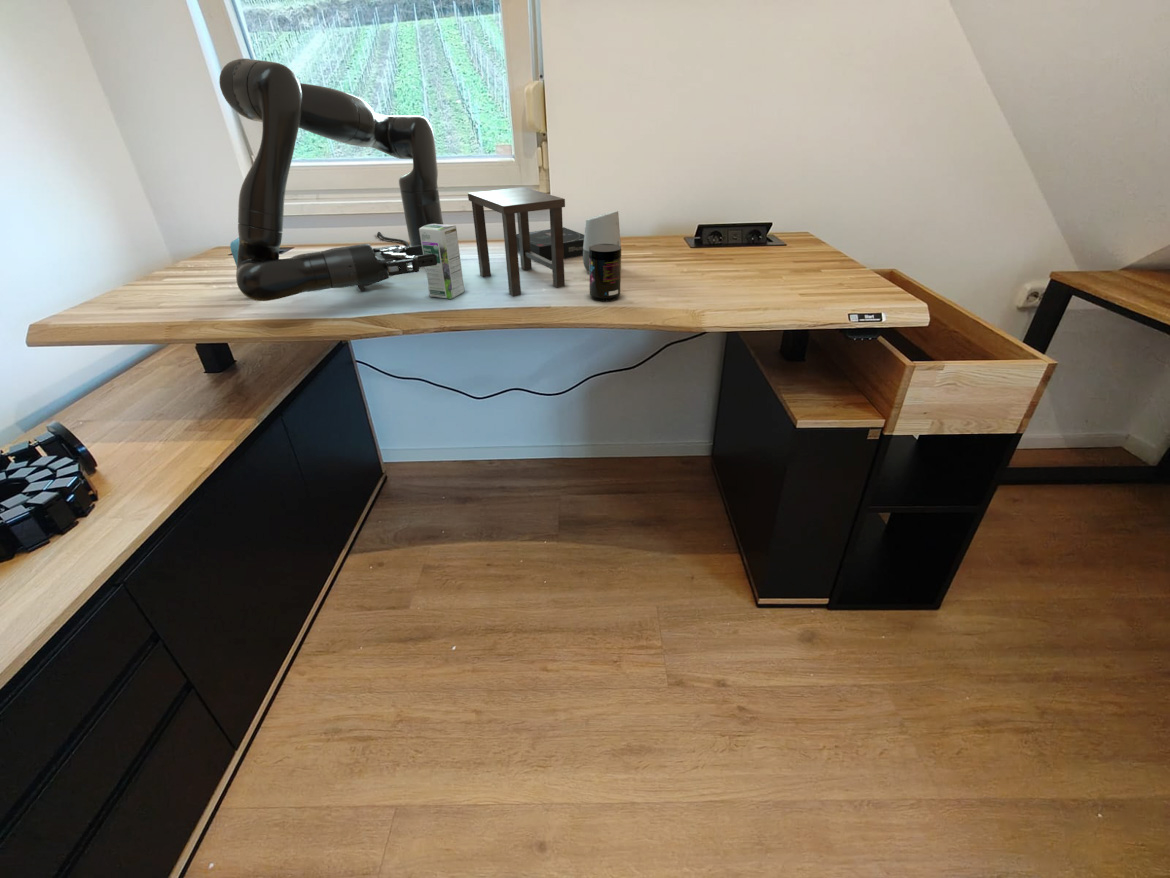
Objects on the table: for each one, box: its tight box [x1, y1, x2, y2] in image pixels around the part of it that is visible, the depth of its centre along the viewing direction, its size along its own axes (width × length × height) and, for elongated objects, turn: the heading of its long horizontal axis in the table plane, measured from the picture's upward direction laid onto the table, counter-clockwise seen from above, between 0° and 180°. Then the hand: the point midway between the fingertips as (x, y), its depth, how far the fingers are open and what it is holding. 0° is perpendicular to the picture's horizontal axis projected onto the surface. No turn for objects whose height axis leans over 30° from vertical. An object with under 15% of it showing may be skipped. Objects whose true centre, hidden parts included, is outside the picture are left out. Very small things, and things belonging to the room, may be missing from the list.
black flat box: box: [516, 226, 585, 261], centre depth 152 cm, size 16×17×4 cm
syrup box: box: [419, 224, 465, 300], centre depth 119 cm, size 6×6×14 cm
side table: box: [467, 186, 566, 297], centre depth 126 cm, size 20×14×19 cm
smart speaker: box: [582, 210, 622, 273], centre depth 133 cm, size 10×9×14 cm
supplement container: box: [588, 244, 622, 302], centre depth 117 cm, size 7×7×10 cm
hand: (429, 254), depth 117 cm, fingers open, 8 cm apart
